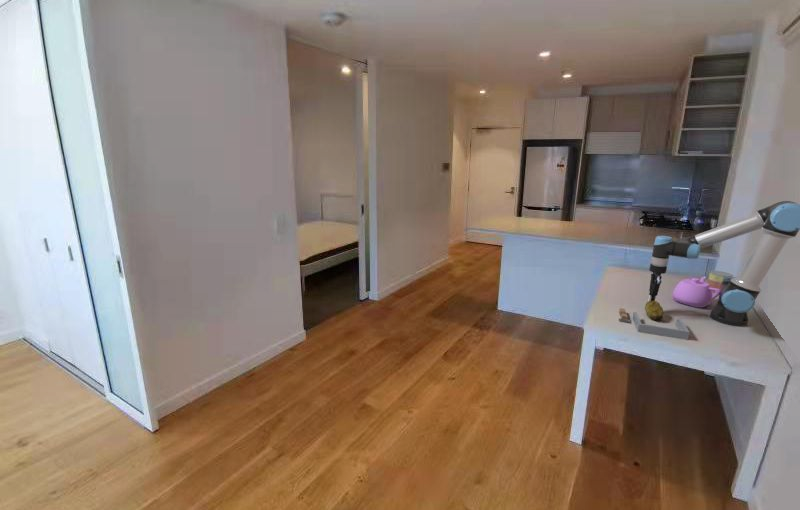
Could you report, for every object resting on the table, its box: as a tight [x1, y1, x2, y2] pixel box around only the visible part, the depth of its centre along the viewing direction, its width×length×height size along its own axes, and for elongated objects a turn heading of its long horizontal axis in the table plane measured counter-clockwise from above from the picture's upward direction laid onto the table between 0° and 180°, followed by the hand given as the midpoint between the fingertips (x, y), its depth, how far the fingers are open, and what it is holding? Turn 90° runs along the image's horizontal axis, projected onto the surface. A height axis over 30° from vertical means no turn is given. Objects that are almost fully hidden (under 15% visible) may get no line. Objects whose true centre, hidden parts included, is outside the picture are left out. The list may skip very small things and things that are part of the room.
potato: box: [644, 300, 664, 322], centre depth 199 cm, size 8×13×8 cm, turn 147°
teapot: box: [672, 275, 720, 308], centre depth 218 cm, size 23×21×15 cm
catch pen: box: [632, 311, 691, 341], centre depth 186 cm, size 20×16×4 cm
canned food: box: [706, 270, 734, 294], centre depth 237 cm, size 11×11×12 cm
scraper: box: [618, 307, 631, 324], centre depth 199 cm, size 14×5×2 cm, turn 157°
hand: (650, 305), depth 206 cm, fingers closed
